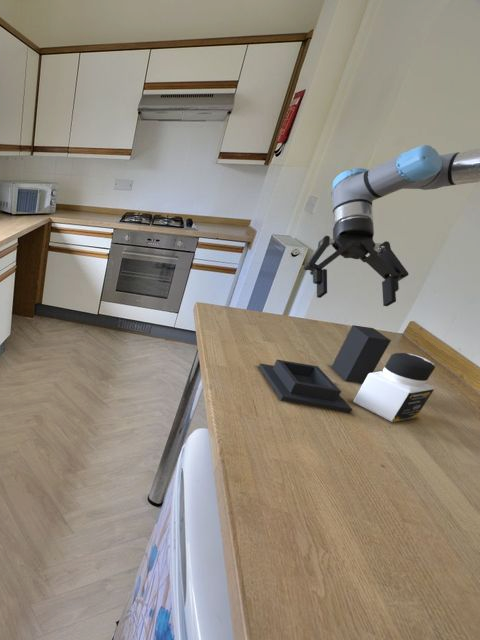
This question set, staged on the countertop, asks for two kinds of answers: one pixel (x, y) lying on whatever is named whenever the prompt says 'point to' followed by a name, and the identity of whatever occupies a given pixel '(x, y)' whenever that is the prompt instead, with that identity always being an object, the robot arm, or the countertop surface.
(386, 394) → the medicine bottle
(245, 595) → the countertop surface
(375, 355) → the upright block
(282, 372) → the base pad
